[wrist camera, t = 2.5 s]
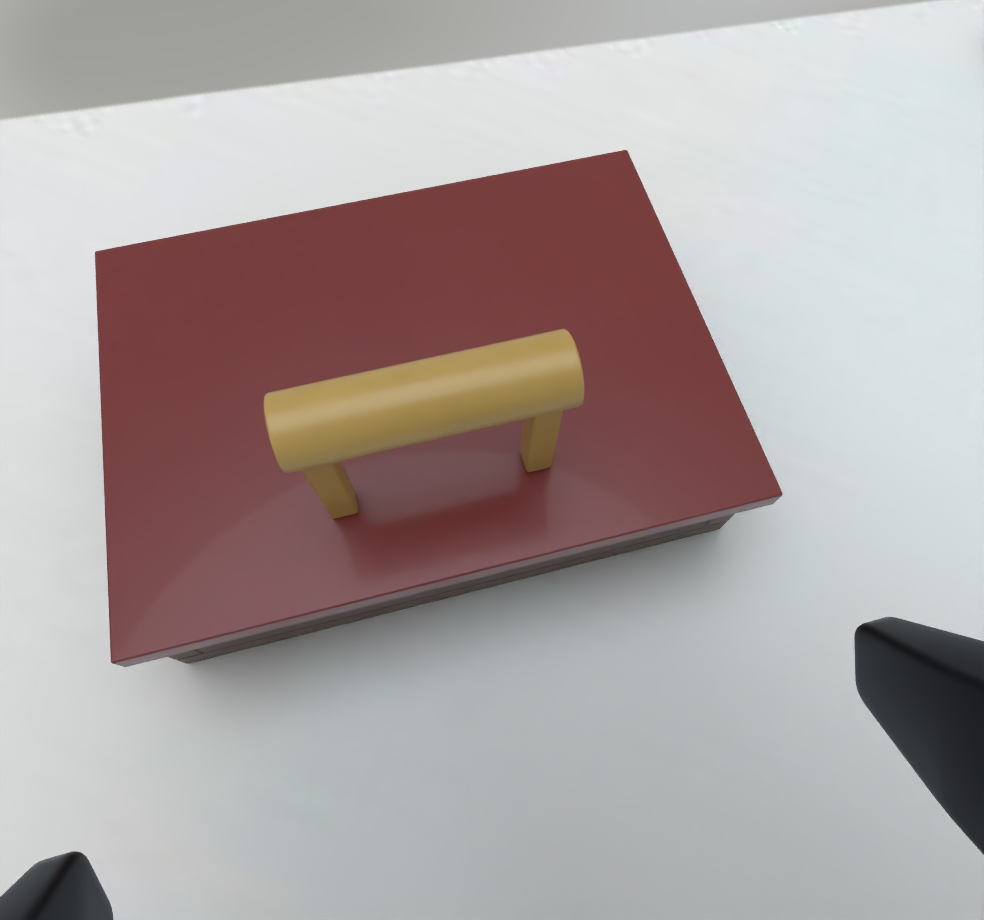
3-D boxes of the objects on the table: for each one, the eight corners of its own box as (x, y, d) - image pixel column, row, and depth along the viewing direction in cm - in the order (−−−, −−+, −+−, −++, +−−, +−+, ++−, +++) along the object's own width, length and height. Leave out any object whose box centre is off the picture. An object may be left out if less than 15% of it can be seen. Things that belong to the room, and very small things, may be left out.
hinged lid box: (720, 528, 22) (764, 484, 19) (186, 664, 20) (124, 643, 17) (605, 245, 27) (623, 167, 23) (159, 337, 25) (106, 267, 21)
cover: (774, 504, 18) (889, 396, 13) (124, 667, 17) (-47, 620, 11) (623, 165, 23) (663, -14, 18) (105, 266, 21) (-21, 100, 16)
